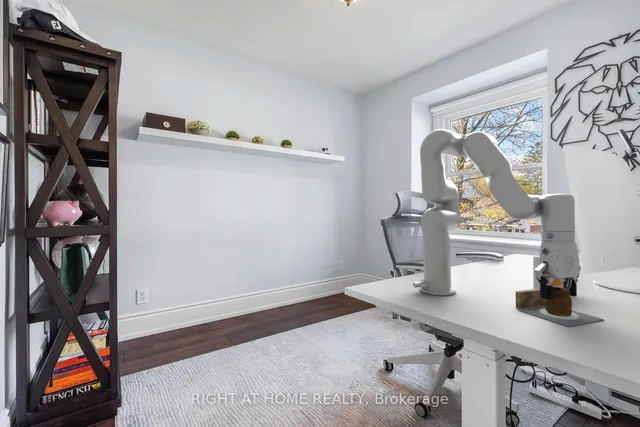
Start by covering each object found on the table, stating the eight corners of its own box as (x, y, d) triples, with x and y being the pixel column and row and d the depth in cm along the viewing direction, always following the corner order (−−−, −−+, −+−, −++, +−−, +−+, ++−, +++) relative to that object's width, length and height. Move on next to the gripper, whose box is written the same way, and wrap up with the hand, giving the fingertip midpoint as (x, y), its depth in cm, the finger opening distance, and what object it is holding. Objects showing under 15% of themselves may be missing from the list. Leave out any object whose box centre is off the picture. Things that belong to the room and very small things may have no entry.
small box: (548, 295, 105) (547, 258, 104) (532, 291, 111) (532, 256, 111) (568, 294, 106) (568, 257, 106) (552, 290, 112) (551, 255, 112)
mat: (568, 327, 77) (568, 325, 77) (517, 310, 90) (517, 308, 90) (604, 320, 81) (604, 318, 81) (550, 305, 94) (550, 303, 94)
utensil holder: (575, 318, 82) (575, 274, 82) (547, 315, 84) (547, 273, 84) (567, 311, 87) (567, 270, 87) (541, 308, 90) (541, 269, 90)
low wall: (520, 308, 92) (520, 292, 92) (515, 307, 93) (515, 291, 93) (566, 301, 98) (566, 286, 98) (561, 300, 99) (561, 285, 99)
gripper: (549, 239, 79) (550, 304, 80) (593, 236, 85) (594, 297, 85) (522, 237, 87) (523, 296, 87) (565, 235, 92) (565, 291, 92)
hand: (558, 297), depth 86 cm, fingers open, 9 cm apart
